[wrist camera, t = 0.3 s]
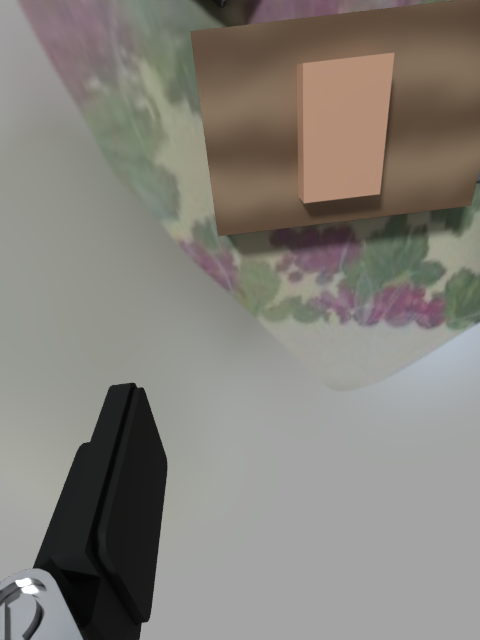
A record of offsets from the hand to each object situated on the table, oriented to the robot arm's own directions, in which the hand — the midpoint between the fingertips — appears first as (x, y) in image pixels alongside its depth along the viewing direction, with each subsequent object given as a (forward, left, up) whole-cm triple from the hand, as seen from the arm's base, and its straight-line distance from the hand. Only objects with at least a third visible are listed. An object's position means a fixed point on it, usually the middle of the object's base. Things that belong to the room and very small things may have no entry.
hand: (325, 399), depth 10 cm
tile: (-3, +7, -24) cm, 25 cm away
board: (-3, +8, -28) cm, 29 cm away
